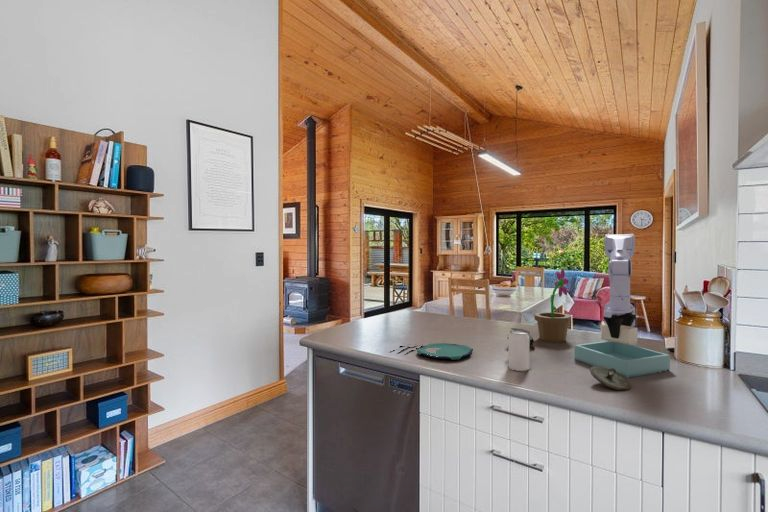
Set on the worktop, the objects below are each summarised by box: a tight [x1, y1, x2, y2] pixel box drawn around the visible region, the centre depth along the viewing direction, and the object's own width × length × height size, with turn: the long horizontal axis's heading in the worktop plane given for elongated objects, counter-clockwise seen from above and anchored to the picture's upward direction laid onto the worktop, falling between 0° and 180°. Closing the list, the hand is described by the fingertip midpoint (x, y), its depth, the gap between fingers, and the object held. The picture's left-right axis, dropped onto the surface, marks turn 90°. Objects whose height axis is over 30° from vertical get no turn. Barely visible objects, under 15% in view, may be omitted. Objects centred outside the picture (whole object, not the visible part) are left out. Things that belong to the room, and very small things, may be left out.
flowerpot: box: [533, 267, 572, 343], centre depth 162 cm, size 14×14×30 cm
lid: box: [589, 366, 631, 391], centre depth 110 cm, size 11×10×5 cm
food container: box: [510, 327, 533, 348], centre depth 134 cm, size 12×6×10 cm, turn 168°
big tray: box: [574, 340, 671, 379], centre depth 127 cm, size 18×20×5 cm
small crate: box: [600, 323, 639, 345], centre depth 127 cm, size 5×9×5 cm, turn 29°
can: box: [507, 330, 530, 372], centre depth 125 cm, size 6×6×12 cm
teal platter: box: [416, 342, 474, 361], centre depth 146 cm, size 20×30×2 cm, turn 57°
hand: (619, 336), depth 127 cm, fingers closed on small crate, 5 cm apart
